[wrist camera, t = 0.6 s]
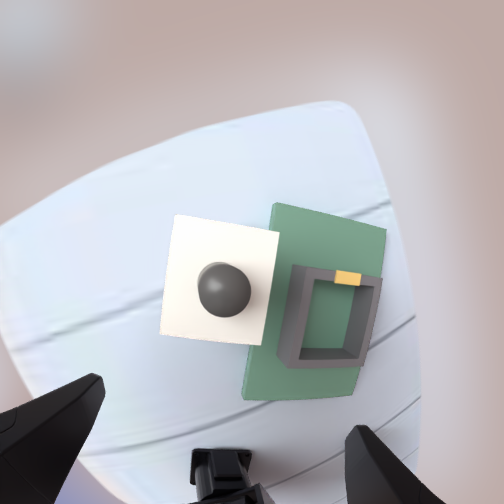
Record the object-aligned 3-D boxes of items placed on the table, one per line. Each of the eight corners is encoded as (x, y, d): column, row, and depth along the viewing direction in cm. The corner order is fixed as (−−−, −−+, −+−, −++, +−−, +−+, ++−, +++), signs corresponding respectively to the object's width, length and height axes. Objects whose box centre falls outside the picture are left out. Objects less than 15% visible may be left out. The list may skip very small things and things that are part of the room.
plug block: (225, 296, 23) (274, 363, 10) (174, 288, 22) (154, 351, 9) (234, 238, 23) (297, 230, 10) (183, 229, 22) (172, 207, 9)
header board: (346, 390, 27) (367, 408, 22) (241, 393, 24) (251, 418, 20) (379, 229, 27) (407, 228, 22) (272, 204, 24) (290, 196, 20)
